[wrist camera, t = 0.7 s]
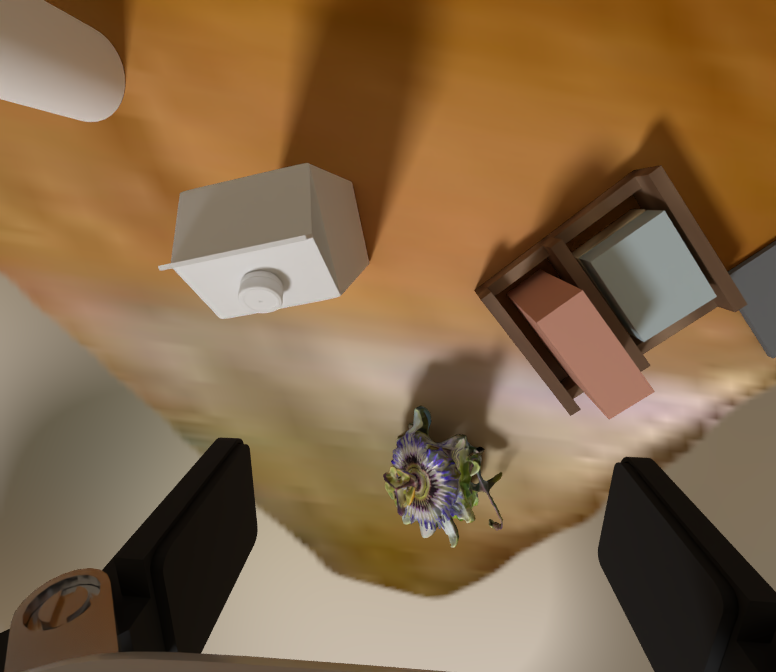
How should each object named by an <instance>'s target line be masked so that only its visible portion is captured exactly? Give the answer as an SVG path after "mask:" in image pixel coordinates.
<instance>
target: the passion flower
mask: <svg viewBox="0 0 776 672" xmlns="http://www.w3.org/2000/svg"><path fill="white" fill-rule="evenodd" d="M430 424H431V415H430V412H429V411H428V410H427V409H426V408H425V407H423V406H419V407H417V408H415V409H414V422H413V424H412V423H410V424H409V425H408V426H409V430H408V431H407V432H406V433H405V435H404V436H403V437H399V438H397V448H396V449H394V450H393V460H392V461H391V462H392V464H393V465H394V466H391V468H390V470H389V472H390V473H385V474H384V475H383V477H384V480H385V488H386V490H387V492H388V494H389V495H390V497H391V498H392V499H393V500H394V501H395V505H396V507H397V508H398V514H399V515H400V516H402V519H403V523H404V524H409V523H411V524H412V523H413V522H414V521H416V520H417V521H418V523H419V526H420V531H421V534H422V537H423V538H427V537H429V536H431V535H433V533H434V532H435V531H436V528H437V527H438V526H439V529H440V528H441V527H442V529H443V530H444V531H445V533H446V534H447V535H449V539H450V543H451V547H455V546H456V545H457V542H458V539H459V534H458V529H457V527H456V525H455V523H454V521H453V518H457V519H458V520H460V521H463V520H465V521H466V522H467V523H469V522H473V521H475V515H474V513H473V511H472V507H473V506H476V505H478V501H479V499H478V494H477V492H481V491H482V492H486V493H487V495H488V497H489V499H490V501H491V503H492V505H493V506H494V508H495V510H496V512H497V515H498V516H499V518H500V520H501V524H499V523H497V522H494V521H493V520H491V519H489V525H490V527H493V528H494V529H496V530H499V529H500V530H501V529H502V526H503V519H502V517H501V515H500V513H499V510H498V508H497V506H496V504H495V503H494V501H493V498H492V497H491V496H490V493H489V490H490V489H491V487H492V486H493V485H494V484H495V483H496V482H497V481H498V480H500V479H501V477H502V472H500V473H499V474H497V475H496V476H494V477H493V478H492V479H490V480H488V481H484V480H483V478H482V476H481V472H480V467H481V461H482V458H481V454H482V452H484V450H485V449H484V448H482V447H473V446H471V445H470V444H469V442H468V441H467V436H465V435H461V434H459V435H455V436H453V437H451V438H450V439H447V440H445V441H443V442H441V443H435V442H433V441H432V440H431V439H430V437H429V432H428V431H429V426H430ZM471 452H474V454H473V455H471V456H469V455H470V453H471ZM472 467H473V468H472ZM471 468H472V471H471ZM470 471H471V472H470ZM474 474H477V476H478V479H479V483H478V484H474V483H472V482H471V479H472V476H473V475H474Z"/></svg>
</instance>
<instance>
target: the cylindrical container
mask: <svg viewBox="0 0 776 672" xmlns="http://www.w3.org/2000/svg"><path fill="white" fill-rule="evenodd" d="M124 90H125V74H124V69H123V65H122V62H121V60H120V57H119V55H118V53H117V51H116V50H115V48H114V46H113V45H112V44H111V43H110V41H109V40H108V39H107V38H106V37H105V36H104V35H103V34H102V33H100V32H99V31H97V30H95V29H94V28H92V27H90V26H89V25H87V24H85V23H83V22H82V21H80V20H78V19H76V18H74V17H73V16H71V15H69V14H67V13H66V12H64V11H62V10H60V9H58V8H57V7H55V6H53V5H51V4H50V3H48V2H46V1H44V0H0V99H2V100H6V101H10V102H13V103H17V104H21V105H25V106H28V107H32V108H36V109H40V110H43V111H47V112H51V113H54V114H58V115H62V116H66V117H69V118H73V119H77V120H81V121H86V122H97V121H101V120H104V119H106V118H108V117H109V116H111V115H112V114H113V113H114V112H115V111H116V110H117V108H118V107H119V105H120V104H121V101H122V98H123V96H124Z"/></svg>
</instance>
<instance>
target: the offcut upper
mask: <svg viewBox="0 0 776 672" xmlns="http://www.w3.org/2000/svg"><path fill="white" fill-rule="evenodd" d="M579 260H580V261H581V263H582V264H583V266H584V267H585V269H586V270H587V272H588V273H589V275H590V276H591V278H592V279H593V281H594V282H595V283H596V285H597V286H598V288H599V289H600V291H601V292H602V294H603V295H604V297H605V298H606V300H607V301H608V303H609V304H610V306H611V307H612V309H613V310H614V312H615V313H616V315H617V316H618V318H619V319H620V321H621V322H622V324H623V325H624V327H625V328H626V330H627V331H628V333H630V334H631V335H633V336H635V337H636V338H638V339H640V340H641V341H643V342H645V341H646V340H648V339H650V338H651V337H653V336H654V335H656V334H658V333H659V332H661V331H662V330H664V329H666V328H667V327H669V326H670V325H672V324H674V323H675V322H677V321H678V320H680V319H682V318H683V317H685V316H687V315H688V314H690V313H691V312H693V311H695V310H696V309H698V308H699V307H701V306H703V305H704V304H706V303H707V302H709V301H711V300H712V299H714V298H715V297H717V296H716V294H715V293H714V291H713V289H712V288H711V286H710V284H709V283H708V281H707V279H706V278H705V276H704V275H703V273H702V271H701V270H700V268H699V266H698V265H697V263H696V261H695V260H694V258H693V256H692V255H691V253H690V251H689V250H688V248H687V247H686V245H685V243H684V242H683V240H682V238H681V237H680V235H679V233H678V232H677V230H676V228H675V227H674V225H673V223H672V222H671V220H670V219H669V217H668V215H667V214H666V212H665V211H663V210H646V211H645V212H643V213H642V214H641V215H639V216H638V217H636V218H635V219H633V220H632V221H631V222H629V223H628V224H626V225H625V226H624V227H622V228H621V229H619V230H618V231H616V232H615V233H614V234H612V235H611V236H609V237H608V238H606V239H605V240H604V241H602V242H601V243H599V244H598V245H596V246H595V247H594V248H592V249H591V250H589V251H588V252H586V253H585V254H584V255H582V256H581V257H579Z"/></svg>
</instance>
